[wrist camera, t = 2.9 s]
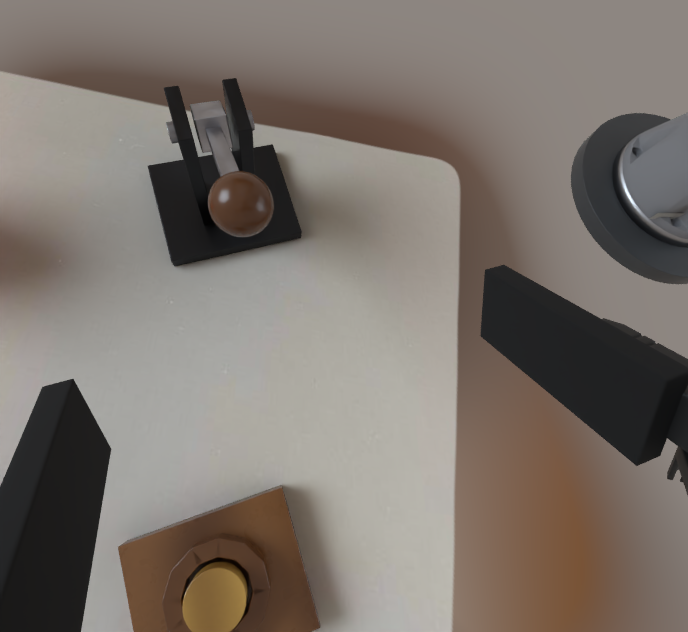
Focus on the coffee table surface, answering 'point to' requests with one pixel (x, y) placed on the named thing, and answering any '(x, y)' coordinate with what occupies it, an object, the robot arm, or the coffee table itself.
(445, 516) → the coffee table surface
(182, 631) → the brown button base
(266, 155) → the black lever base
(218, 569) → the button
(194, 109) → the lever with brown knob
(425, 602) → the coffee table surface
